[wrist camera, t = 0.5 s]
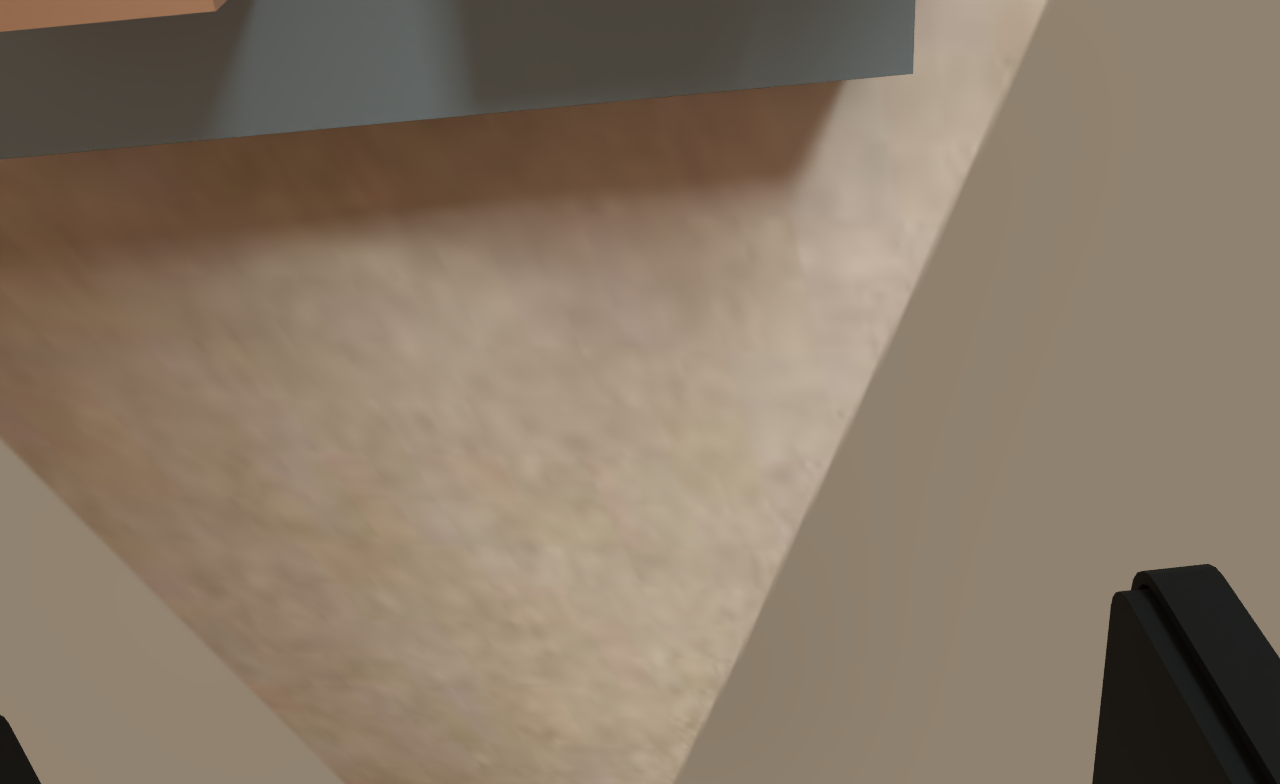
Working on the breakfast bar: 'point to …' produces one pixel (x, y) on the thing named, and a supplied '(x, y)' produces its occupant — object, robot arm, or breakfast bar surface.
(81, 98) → the key panel
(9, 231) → the breakfast bar surface
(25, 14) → the rust key
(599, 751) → the breakfast bar surface
